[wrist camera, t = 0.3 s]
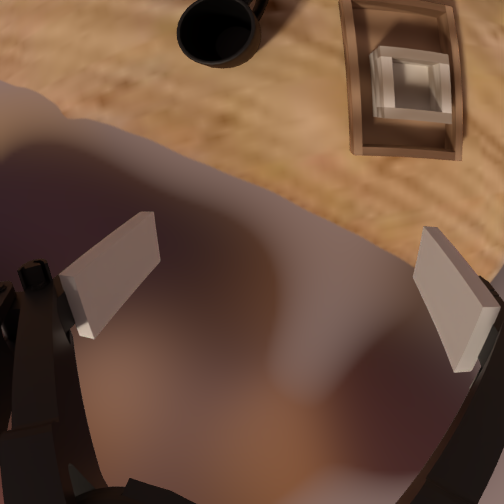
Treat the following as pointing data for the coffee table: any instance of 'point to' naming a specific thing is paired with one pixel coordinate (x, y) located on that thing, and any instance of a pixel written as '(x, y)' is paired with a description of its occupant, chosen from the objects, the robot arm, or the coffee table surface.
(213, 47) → the mug
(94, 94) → the coffee table surface
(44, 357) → the robot arm
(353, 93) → the box
